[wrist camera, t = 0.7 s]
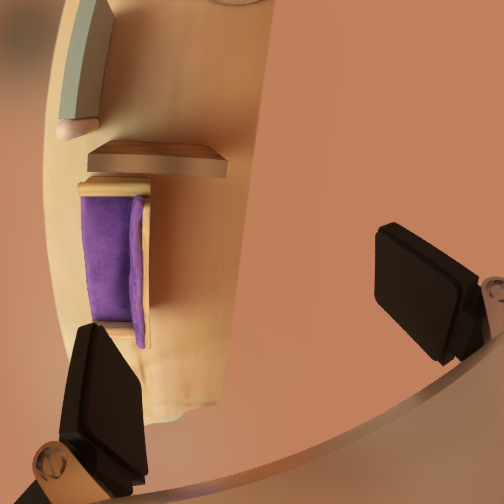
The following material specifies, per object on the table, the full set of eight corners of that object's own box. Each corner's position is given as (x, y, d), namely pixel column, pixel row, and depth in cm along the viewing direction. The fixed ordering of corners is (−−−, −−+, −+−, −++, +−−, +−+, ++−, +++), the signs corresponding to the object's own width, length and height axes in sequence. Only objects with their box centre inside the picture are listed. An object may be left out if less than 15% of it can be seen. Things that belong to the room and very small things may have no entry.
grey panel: (83, 132, 32) (55, 141, 22) (101, 18, 26) (82, -13, 16) (98, 132, 32) (74, 140, 23) (116, 17, 26) (102, -14, 17)
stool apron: (108, 153, 34) (87, 171, 24) (109, 140, 33) (88, 153, 23) (206, 158, 38) (225, 178, 28) (208, 146, 37) (227, 160, 27)
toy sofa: (87, 171, 34) (65, 191, 25) (153, 172, 37) (151, 192, 28) (96, 310, 43) (87, 356, 34) (150, 311, 45) (152, 357, 36)
